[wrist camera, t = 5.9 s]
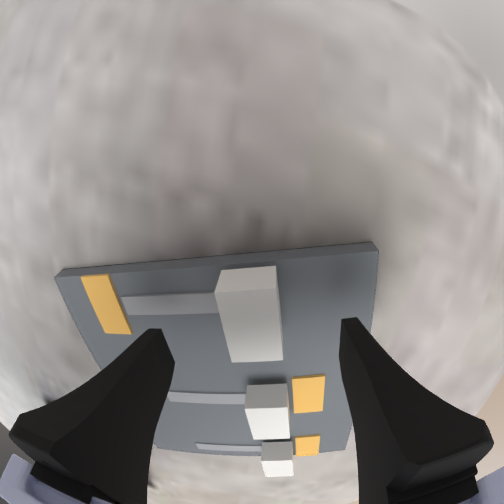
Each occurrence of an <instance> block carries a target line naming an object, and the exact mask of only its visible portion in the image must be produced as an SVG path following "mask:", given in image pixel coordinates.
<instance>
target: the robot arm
mask: <svg viewBox="0 0 504 504" xmlns="http://www.w3.org/2000/svg"><path fill="white" fill-rule="evenodd" d="M339 362H340V370H341V377H342V381H343V385H344V389H345V393H346V397H347V401H348V405H349V409H350V413H351V417H352V421H353V426H354V432H355V441H356V450H357V463H358V480H359V504H504V467H502V468H500V469H498V470H496V471H494V472H493V473H491V474H489V475H487V476H485V477H483V478H481V479H480V480H478V481H477V482H476V479H475V475H476V474H477V472H478V471H477V467H476V464H477V463H478V462H479V461H480V460H481V459H482V458H483V457H484V456H485V455H486V454H487V453H488V452H489V451H490V450H491V449H492V447H493V445H494V441H493V439H492V436H491V433H490V431H489V429H488V427H487V425H486V423H485V421H484V420H482V419H479V418H477V417H475V416H473V415H470V414H468V413H466V412H464V411H462V410H460V409H458V408H456V407H454V406H452V405H451V404H449V403H447V402H445V401H444V400H442V399H441V398H439V397H438V396H436V395H435V394H433V393H432V392H430V391H429V390H427V389H426V388H425V387H423V386H422V385H421V384H419V383H418V382H417V381H416V380H415V379H413V378H412V377H411V376H410V375H409V374H408V373H407V372H405V371H404V370H403V369H402V368H401V367H400V366H399V365H398V364H397V363H396V362H395V361H394V360H393V359H392V358H391V357H390V356H389V355H388V354H387V352H386V351H385V350H384V349H383V348H382V347H381V346H380V345H379V343H378V342H377V341H376V340H375V339H374V338H373V336H372V335H371V334H370V333H369V331H368V330H367V329H366V328H365V326H364V325H363V324H362V322H361V321H360V320H359V319H358V318H357V317H353V318H344V319H341V331H340V345H339ZM174 367H175V361H174V358H173V356H172V354H171V351H170V349H169V346H168V344H167V341H166V339H165V337H164V334H163V331H162V329H156V328H149V329H147V330H146V331H145V332H144V333H143V334H142V335H140V336H139V337H138V338H137V339H136V340H135V341H134V342H133V343H132V344H131V345H130V346H129V347H128V348H126V349H125V350H124V351H123V352H122V353H121V354H120V355H119V356H118V357H117V358H116V359H115V360H113V361H112V362H111V363H110V364H109V365H107V366H106V367H105V368H104V369H103V370H102V371H100V372H99V373H98V374H97V375H95V376H94V377H93V378H91V379H90V380H89V381H87V382H86V383H84V384H83V385H82V386H80V387H78V388H77V389H75V390H73V391H72V392H70V393H68V394H67V395H65V396H63V397H61V398H60V399H58V400H56V401H53V402H51V403H49V404H47V405H45V406H42V407H40V408H37V409H34V410H31V411H28V412H25V413H22V414H20V415H19V417H18V418H17V420H16V422H15V424H14V425H13V427H12V429H11V431H10V433H9V437H10V438H11V440H12V441H13V442H14V443H15V444H16V445H17V446H18V447H19V448H21V450H23V451H24V452H25V453H26V454H27V455H28V456H30V457H31V458H32V459H33V460H34V461H35V464H34V466H33V465H31V464H30V463H28V462H27V461H25V460H24V459H22V458H20V457H18V456H17V455H15V454H12V456H11V458H10V460H9V462H8V464H7V466H6V468H5V471H4V472H3V475H2V477H1V479H0V496H1V497H2V498H3V499H5V500H6V501H7V502H8V503H10V504H147V484H148V473H149V464H150V457H151V450H152V445H153V440H154V435H155V431H156V427H157V424H158V421H159V418H160V415H161V412H162V409H163V406H164V403H165V400H166V398H167V395H168V392H169V389H170V386H171V382H172V378H173V373H174Z"/></svg>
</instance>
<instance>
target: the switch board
mask: <svg viewBox="0 0 504 504" xmlns="http://www.w3.org/2000/svg"><path fill="white" fill-rule="evenodd" d="M378 255H379V250H378V249H377V248H376V246H375V245H374V243H373V242H367V243H356V244H345V245H334V246H323V247H312V248H300V249H289V250H278V251H267V252H256V253H245V254H234V255H222V256H211V257H200V258H189V259H178V260H166V261H155V262H144V263H133V264H121V265H110V266H99V267H87V268H76V269H65V270H62V271H61V272H59V273H58V274H57V275H56V276H55V277H54V279H55V281H56V283H57V286H58V288H59V290H60V293H61V295H62V297H63V299H64V301H65V304H66V306H67V308H68V310H69V312H70V314H71V316H72V318H73V320H74V322H75V324H76V326H77V328H78V330H79V332H80V334H81V335H82V337H83V339H84V341H85V343H86V345H87V346H88V348H89V350H90V352H91V353H92V355H93V357H94V359H95V360H96V362H97V364H98V365H99V367H100V369H101V370H103V369H104V368H105V367H106V366H107V365H109V364H110V363H111V362H112V361H113V360H115V359H116V358H117V357H118V356H119V355H120V354H121V353H122V352H123V351H124V350H125V349H126V348H128V347H129V346H130V345H131V344H132V343H133V342H134V341H135V340H136V339H137V338H138V337H139V336H140V335H142V334H143V333H144V332H145V331H146V330H147V329H149V328H156V329H162V331H163V334H164V337H165V339H166V341H167V344H168V346H169V349H170V351H171V354H172V356H173V358H174V361H175V367H174V373H173V378H172V382H171V386H170V389H169V392H168V395H167V398H166V400H165V403H164V406H163V409H162V412H161V415H160V418H159V421H158V424H157V427H156V431H155V435H154V440H153V443H154V444H155V445H156V447H157V448H160V449H167V450H174V451H182V452H191V453H201V454H214V455H232V456H261V452H262V443H263V442H290V441H292V445H293V455H296V456H310V455H318V453H322V452H331V451H339V450H345V448H346V445H347V441H348V438H349V434H350V430H351V426H352V423H353V421H352V417H351V413H350V409H349V405H348V401H347V397H346V393H345V389H344V385H343V381H342V377H341V370H340V362H339V345H340V331H341V319H344V318H353V317H357V318H358V319H359V320H360V321H361V322H362V324H363V325H364V326H365V328H366V329H367V330H368V331H369V333H370V332H371V325H372V317H373V309H374V301H375V292H376V281H377V269H378ZM265 266H276V272H277V282H278V291H279V301H280V311H281V321H282V332H283V360H280V361H263V362H235V363H232V362H231V358H230V354H229V350H228V346H227V342H226V338H225V334H224V330H223V326H222V322H221V318H220V314H219V310H218V306H217V302H216V297H215V293H214V292H215V289H216V286H217V283H218V280H219V276H220V273H221V270H229V269H242V268H254V267H265ZM285 383H287V388H288V401H289V413H290V438H289V439H259V440H254V439H253V436H252V433H251V429H250V426H249V423H248V419H247V416H246V412H245V409H244V408H245V399H246V390H247V385H266V384H285Z"/></svg>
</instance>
